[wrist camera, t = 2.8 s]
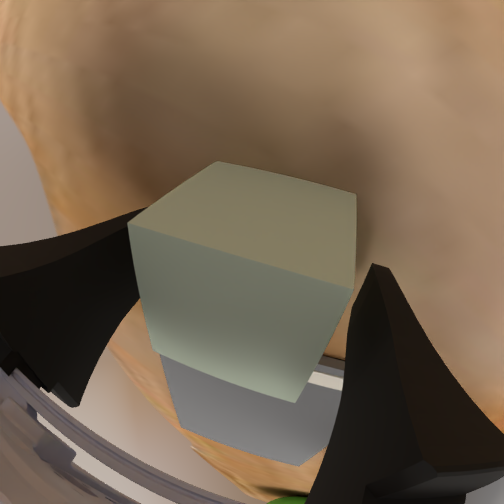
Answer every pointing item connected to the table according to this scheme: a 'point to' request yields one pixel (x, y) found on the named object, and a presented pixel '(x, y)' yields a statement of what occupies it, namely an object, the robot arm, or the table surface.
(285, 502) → the green apple
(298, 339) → the sage block
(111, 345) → the table surface
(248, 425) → the mat
